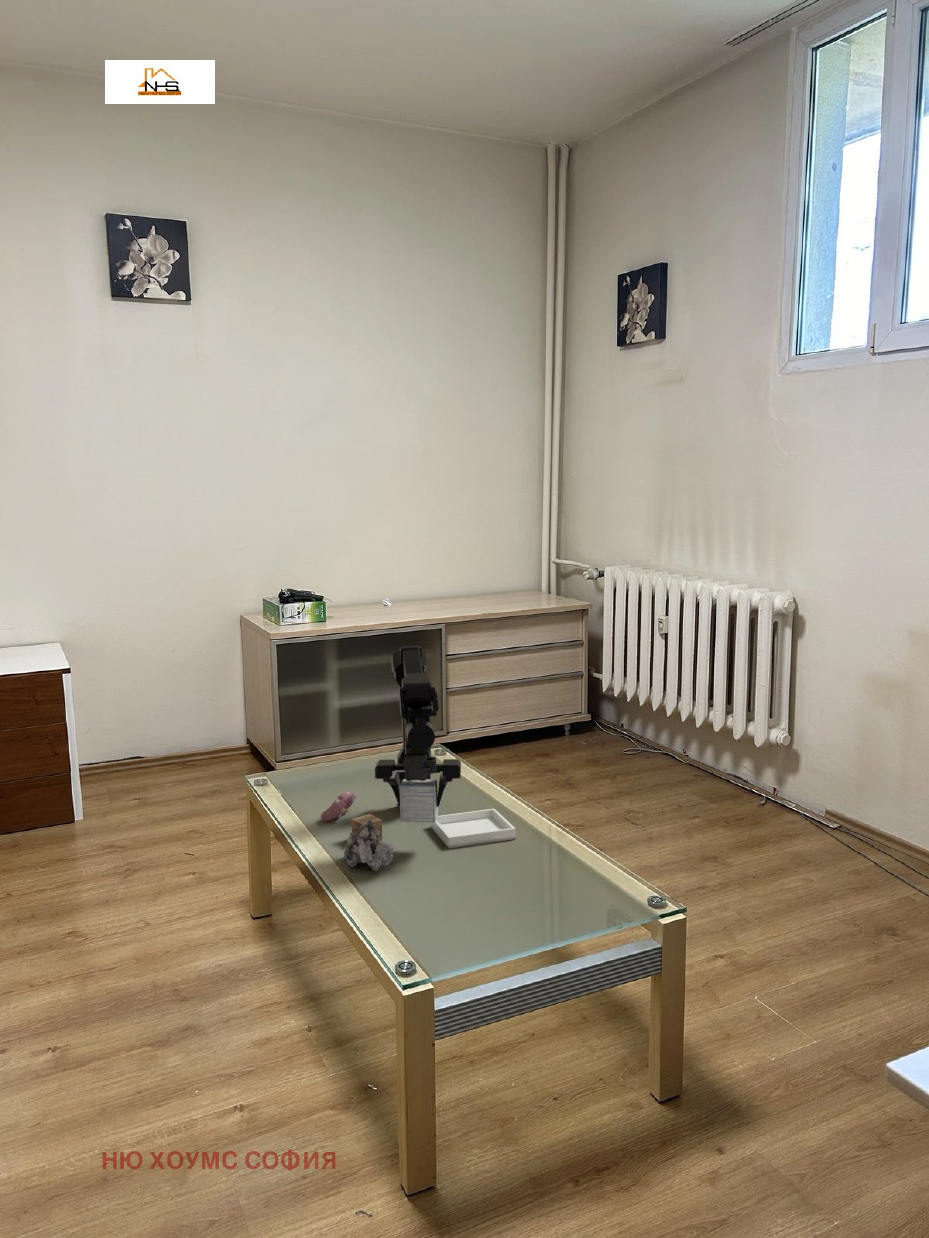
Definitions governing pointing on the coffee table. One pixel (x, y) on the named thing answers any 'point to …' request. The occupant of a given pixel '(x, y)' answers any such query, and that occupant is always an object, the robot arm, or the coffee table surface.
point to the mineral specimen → (368, 848)
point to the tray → (473, 828)
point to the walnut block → (363, 820)
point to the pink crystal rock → (339, 806)
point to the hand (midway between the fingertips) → (419, 806)
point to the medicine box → (418, 801)
